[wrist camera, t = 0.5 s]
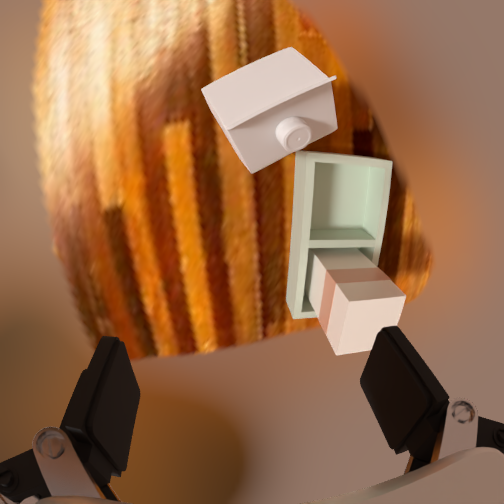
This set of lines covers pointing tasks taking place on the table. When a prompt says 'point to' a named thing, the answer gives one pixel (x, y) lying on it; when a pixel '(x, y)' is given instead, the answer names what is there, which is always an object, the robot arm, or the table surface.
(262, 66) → the milk carton
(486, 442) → the robot arm
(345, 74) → the table surface
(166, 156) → the table surface
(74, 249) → the table surface
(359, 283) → the oat carton
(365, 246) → the crate
